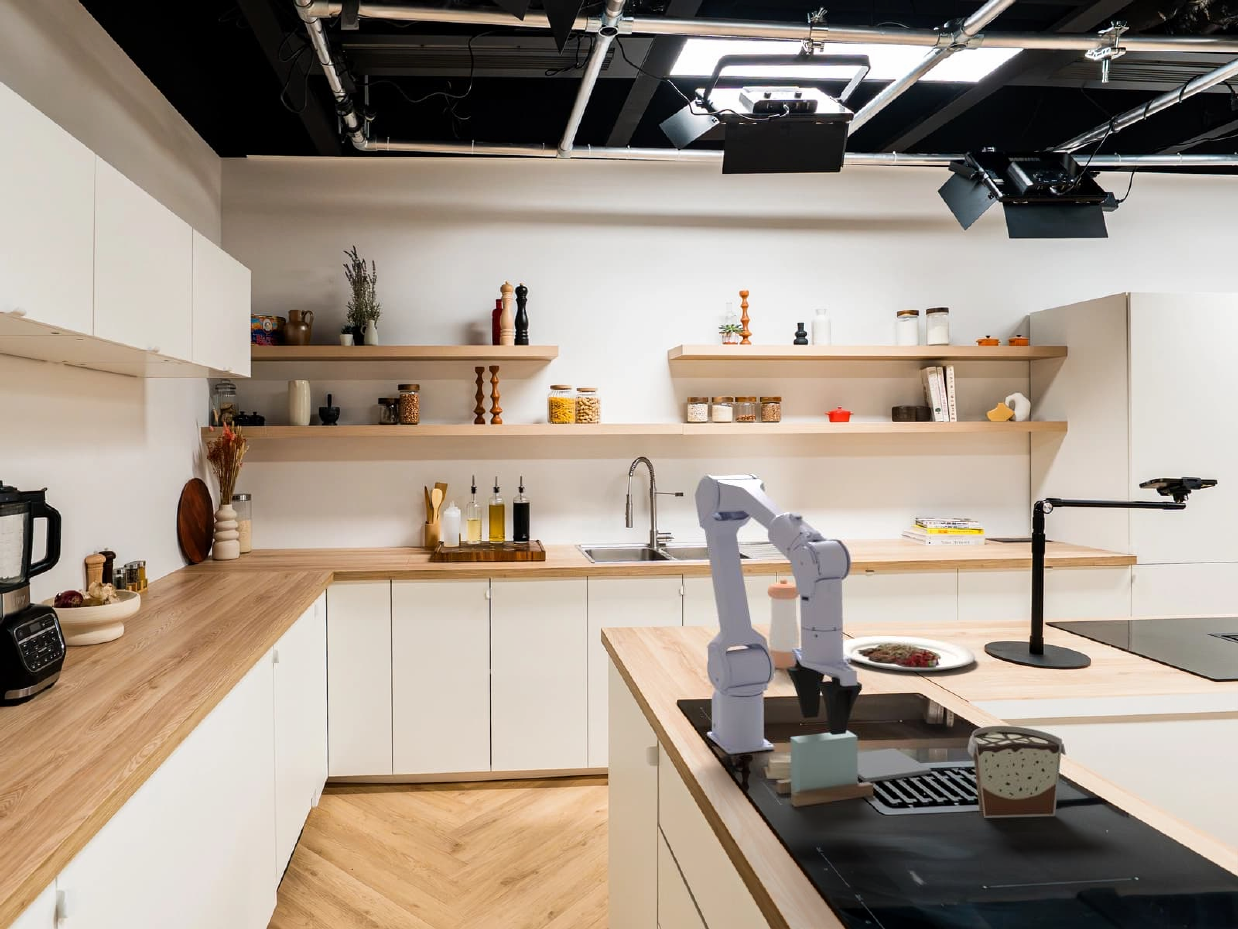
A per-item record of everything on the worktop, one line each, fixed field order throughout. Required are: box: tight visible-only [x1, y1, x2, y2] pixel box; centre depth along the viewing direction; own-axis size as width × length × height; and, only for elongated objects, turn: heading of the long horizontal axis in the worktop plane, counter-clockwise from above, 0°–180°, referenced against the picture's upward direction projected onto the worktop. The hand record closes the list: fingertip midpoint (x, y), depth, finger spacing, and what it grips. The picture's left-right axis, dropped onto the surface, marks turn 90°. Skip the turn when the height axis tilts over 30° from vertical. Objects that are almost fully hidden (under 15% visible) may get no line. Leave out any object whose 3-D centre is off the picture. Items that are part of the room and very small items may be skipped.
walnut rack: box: [776, 779, 874, 807], centre depth 113 cm, size 5×12×2 cm, turn 106°
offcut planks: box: [763, 755, 791, 780], centre depth 120 cm, size 3×10×3 cm, turn 88°
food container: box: [967, 725, 1067, 819], centre depth 108 cm, size 12×6×10 cm, turn 92°
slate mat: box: [858, 748, 932, 783], centre depth 122 cm, size 9×11×1 cm
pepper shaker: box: [767, 578, 800, 670], centre depth 182 cm, size 7×7×19 cm
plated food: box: [843, 635, 976, 672], centre depth 187 cm, size 30×30×3 cm
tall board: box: [790, 730, 859, 794], centre depth 113 cm, size 2×9×8 cm, turn 106°
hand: (823, 725), depth 113 cm, fingers open, 7 cm apart
